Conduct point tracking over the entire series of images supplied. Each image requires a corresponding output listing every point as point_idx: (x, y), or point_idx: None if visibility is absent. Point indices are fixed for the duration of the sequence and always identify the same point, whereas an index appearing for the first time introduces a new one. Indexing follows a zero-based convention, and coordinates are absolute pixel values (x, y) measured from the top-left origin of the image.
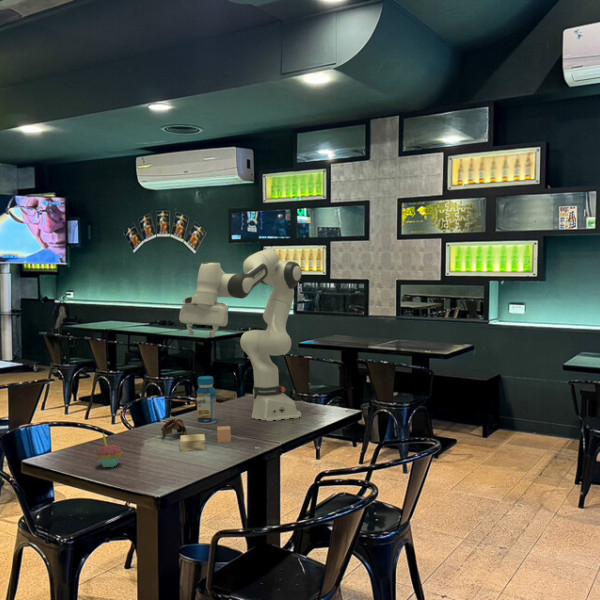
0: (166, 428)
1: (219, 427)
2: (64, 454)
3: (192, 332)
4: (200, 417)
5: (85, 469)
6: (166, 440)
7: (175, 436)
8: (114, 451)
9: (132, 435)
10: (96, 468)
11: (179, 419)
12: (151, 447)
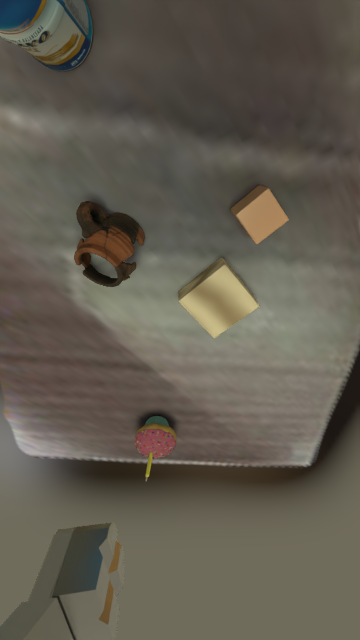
0: (112, 286)
1: (247, 219)
2: (35, 417)
3: (106, 582)
4: (53, 64)
5: None
6: None
7: None
8: (172, 448)
9: (9, 280)
10: None
11: (89, 220)
12: (134, 331)
